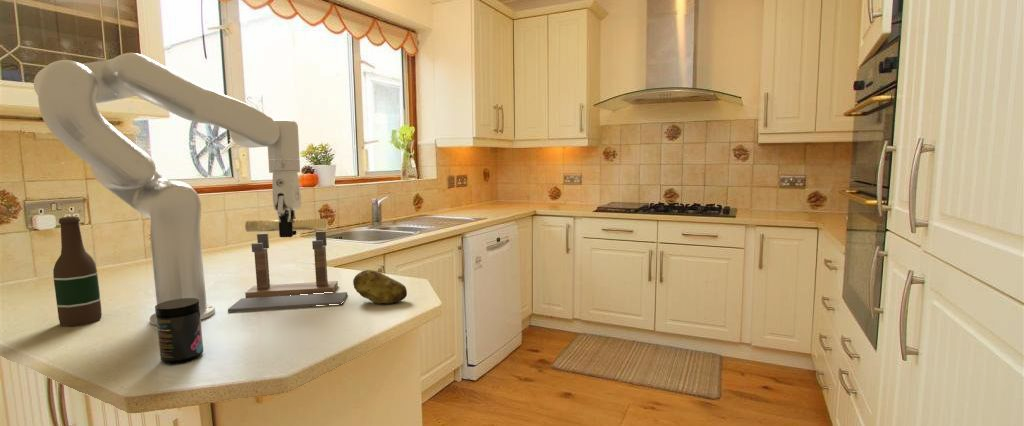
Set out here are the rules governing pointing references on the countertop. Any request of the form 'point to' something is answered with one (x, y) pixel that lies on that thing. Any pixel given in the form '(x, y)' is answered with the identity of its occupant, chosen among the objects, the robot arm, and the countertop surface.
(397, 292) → the potato
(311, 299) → the mat
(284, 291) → the hook stand
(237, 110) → the robot arm
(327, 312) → the countertop surface
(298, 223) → the rail
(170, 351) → the supplement container
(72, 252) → the beer bottle
